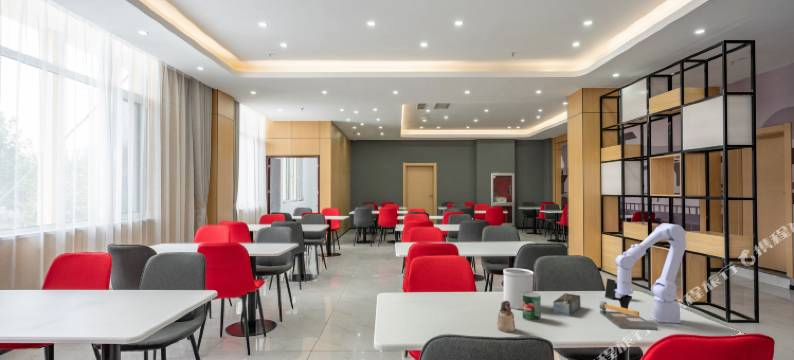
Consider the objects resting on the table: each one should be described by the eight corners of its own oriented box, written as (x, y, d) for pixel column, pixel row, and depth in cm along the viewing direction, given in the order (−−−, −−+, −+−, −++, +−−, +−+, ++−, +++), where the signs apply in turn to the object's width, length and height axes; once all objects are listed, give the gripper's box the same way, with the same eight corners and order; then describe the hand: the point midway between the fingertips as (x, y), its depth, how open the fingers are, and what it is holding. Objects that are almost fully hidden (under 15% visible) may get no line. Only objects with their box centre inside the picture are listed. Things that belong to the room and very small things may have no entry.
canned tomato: (542, 317, 185) (542, 293, 186) (538, 322, 179) (538, 297, 179) (524, 314, 189) (524, 291, 190) (520, 319, 183) (520, 294, 183)
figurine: (511, 326, 173) (512, 298, 173) (517, 332, 166) (517, 303, 166) (495, 326, 173) (495, 298, 173) (500, 332, 166) (500, 302, 166)
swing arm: (598, 307, 193) (598, 301, 193) (601, 306, 195) (601, 301, 195) (636, 317, 178) (636, 311, 178) (640, 316, 180) (640, 310, 180)
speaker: (609, 299, 217) (611, 280, 218) (604, 297, 223) (606, 278, 224) (624, 301, 217) (625, 281, 217) (618, 298, 222) (620, 279, 223)
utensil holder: (529, 302, 211) (529, 268, 211) (536, 310, 196) (536, 274, 196) (500, 301, 212) (501, 267, 213) (505, 309, 197) (505, 273, 198)
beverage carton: (552, 313, 193) (552, 299, 193) (564, 304, 208) (564, 292, 208) (569, 317, 188) (569, 302, 188) (581, 307, 203) (581, 294, 203)
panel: (632, 314, 192) (632, 309, 192) (657, 329, 171) (657, 324, 171) (599, 312, 194) (599, 307, 194) (619, 328, 173) (619, 322, 173)
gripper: (621, 277, 193) (621, 306, 193) (608, 282, 184) (608, 311, 184) (637, 280, 188) (637, 309, 188) (624, 285, 179) (624, 315, 179)
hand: (624, 311), depth 186 cm, fingers closed, pressing on swing arm
